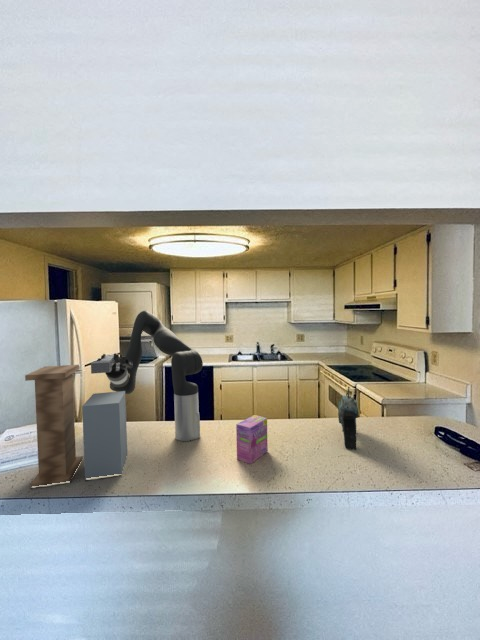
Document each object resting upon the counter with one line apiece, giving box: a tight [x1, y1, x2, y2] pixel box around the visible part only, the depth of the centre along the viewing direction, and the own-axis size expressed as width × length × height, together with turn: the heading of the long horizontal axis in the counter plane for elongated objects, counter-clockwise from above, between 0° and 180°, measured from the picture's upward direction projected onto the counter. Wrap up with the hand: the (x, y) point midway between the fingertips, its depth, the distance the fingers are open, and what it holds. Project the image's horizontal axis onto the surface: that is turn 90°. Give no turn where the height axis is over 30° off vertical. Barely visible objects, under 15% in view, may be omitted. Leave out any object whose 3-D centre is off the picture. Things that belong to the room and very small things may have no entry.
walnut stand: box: [24, 364, 84, 488], centre depth 92 cm, size 10×14×32 cm
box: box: [235, 414, 268, 465], centre depth 101 cm, size 10×6×12 cm, turn 143°
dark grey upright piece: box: [337, 386, 359, 450], centre depth 111 cm, size 20×6×20 cm, turn 165°
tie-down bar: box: [90, 354, 115, 374], centre depth 99 cm, size 20×5×3 cm, turn 14°
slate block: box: [81, 391, 128, 480], centre depth 95 cm, size 10×14×22 cm
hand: (109, 356), depth 104 cm, fingers closed on tie-down bar, 3 cm apart
